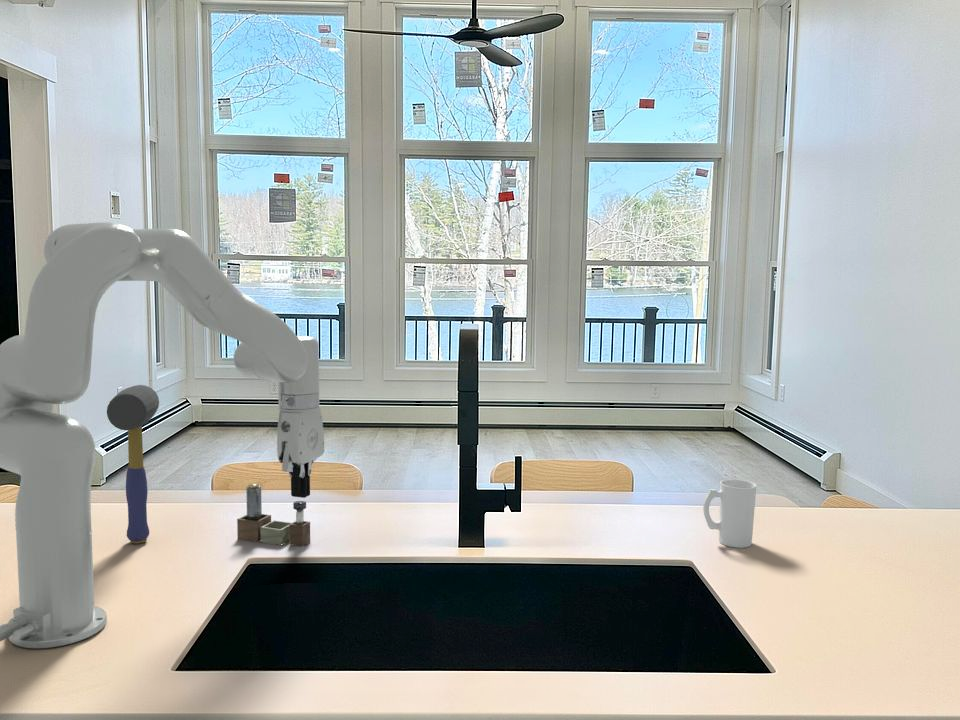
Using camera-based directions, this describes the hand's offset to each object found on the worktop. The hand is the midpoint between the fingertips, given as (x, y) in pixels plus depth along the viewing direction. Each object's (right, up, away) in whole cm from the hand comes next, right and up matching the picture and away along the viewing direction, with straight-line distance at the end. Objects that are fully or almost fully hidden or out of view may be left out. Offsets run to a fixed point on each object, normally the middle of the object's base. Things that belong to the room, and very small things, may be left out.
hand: (300, 495), depth 152 cm
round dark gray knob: (0, -7, +1) cm, 7 cm away
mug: (+83, -10, +5) cm, 84 cm away
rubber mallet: (-31, -9, 0) cm, 32 cm away
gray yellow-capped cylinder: (-10, -9, +4) cm, 14 cm away
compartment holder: (-5, -9, +2) cm, 11 cm away
